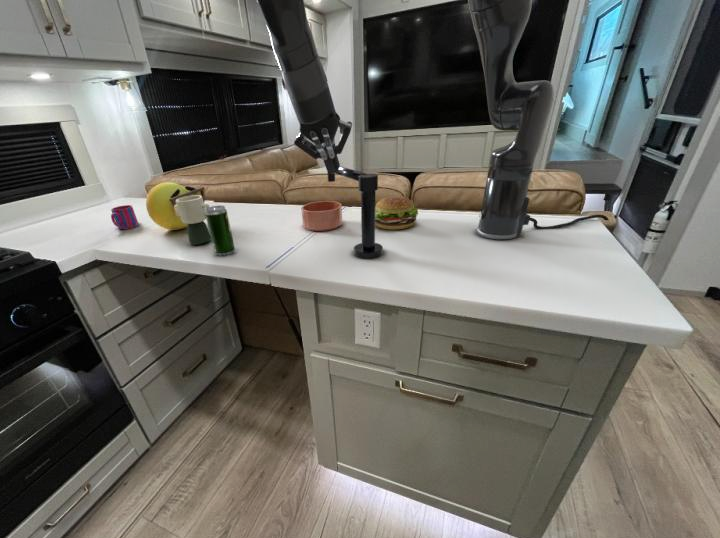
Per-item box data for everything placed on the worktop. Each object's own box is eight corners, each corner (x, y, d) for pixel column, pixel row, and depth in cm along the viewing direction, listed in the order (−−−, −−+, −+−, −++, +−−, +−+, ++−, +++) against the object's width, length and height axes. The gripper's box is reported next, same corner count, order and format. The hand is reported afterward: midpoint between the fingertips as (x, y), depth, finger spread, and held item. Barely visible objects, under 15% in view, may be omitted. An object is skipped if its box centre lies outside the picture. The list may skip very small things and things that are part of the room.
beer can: (219, 257, 86) (207, 212, 80) (212, 252, 90) (201, 208, 84) (238, 252, 88) (228, 207, 82) (231, 247, 92) (221, 204, 86)
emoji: (182, 238, 102) (167, 188, 95) (143, 235, 108) (126, 188, 100) (212, 222, 115) (201, 177, 107) (177, 220, 120) (164, 177, 113)
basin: (342, 218, 108) (341, 199, 105) (342, 230, 97) (342, 210, 94) (305, 220, 108) (303, 202, 105) (301, 233, 98) (299, 213, 95)
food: (368, 218, 106) (368, 192, 102) (413, 216, 103) (415, 190, 99) (368, 232, 94) (368, 204, 90) (419, 231, 92) (421, 202, 88)
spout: (381, 195, 73) (381, 174, 71) (364, 198, 72) (364, 177, 70) (336, 179, 93) (336, 162, 90) (323, 181, 92) (322, 164, 89)
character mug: (223, 238, 99) (212, 194, 93) (212, 246, 93) (200, 200, 87) (190, 238, 102) (178, 195, 95) (178, 247, 96) (164, 201, 89)
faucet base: (380, 247, 84) (382, 186, 76) (384, 258, 78) (386, 193, 70) (353, 248, 85) (351, 188, 77) (354, 259, 79) (353, 195, 71)
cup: (142, 223, 121) (136, 204, 117) (124, 232, 112) (116, 212, 109) (126, 223, 122) (119, 205, 119) (107, 232, 114) (99, 213, 110)
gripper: (271, 108, 62) (304, 186, 74) (338, 88, 57) (361, 175, 70) (281, 90, 66) (311, 168, 79) (344, 70, 61) (365, 156, 74)
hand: (334, 171), depth 74 cm, fingers closed
